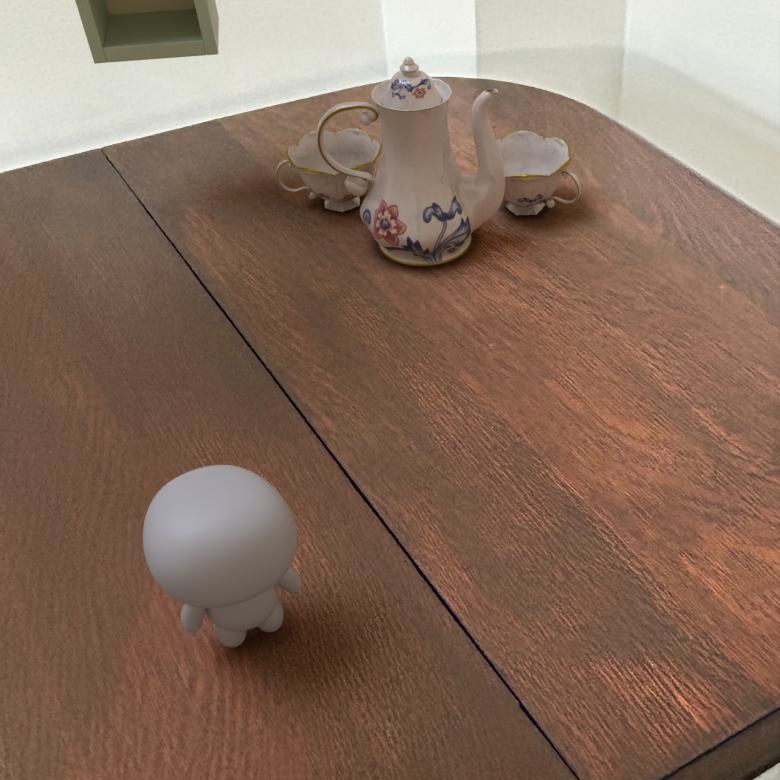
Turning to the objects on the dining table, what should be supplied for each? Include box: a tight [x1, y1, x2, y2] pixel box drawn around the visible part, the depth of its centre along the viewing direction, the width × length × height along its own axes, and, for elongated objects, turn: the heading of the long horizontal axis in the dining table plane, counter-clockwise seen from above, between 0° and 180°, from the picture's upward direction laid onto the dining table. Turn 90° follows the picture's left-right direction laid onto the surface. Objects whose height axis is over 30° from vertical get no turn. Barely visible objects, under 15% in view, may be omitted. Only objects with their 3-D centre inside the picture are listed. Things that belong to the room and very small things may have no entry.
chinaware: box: [275, 56, 582, 268], centre depth 89 cm, size 28×17×17 cm, turn 93°
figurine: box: [142, 464, 302, 648], centre depth 58 cm, size 8×8×12 cm
